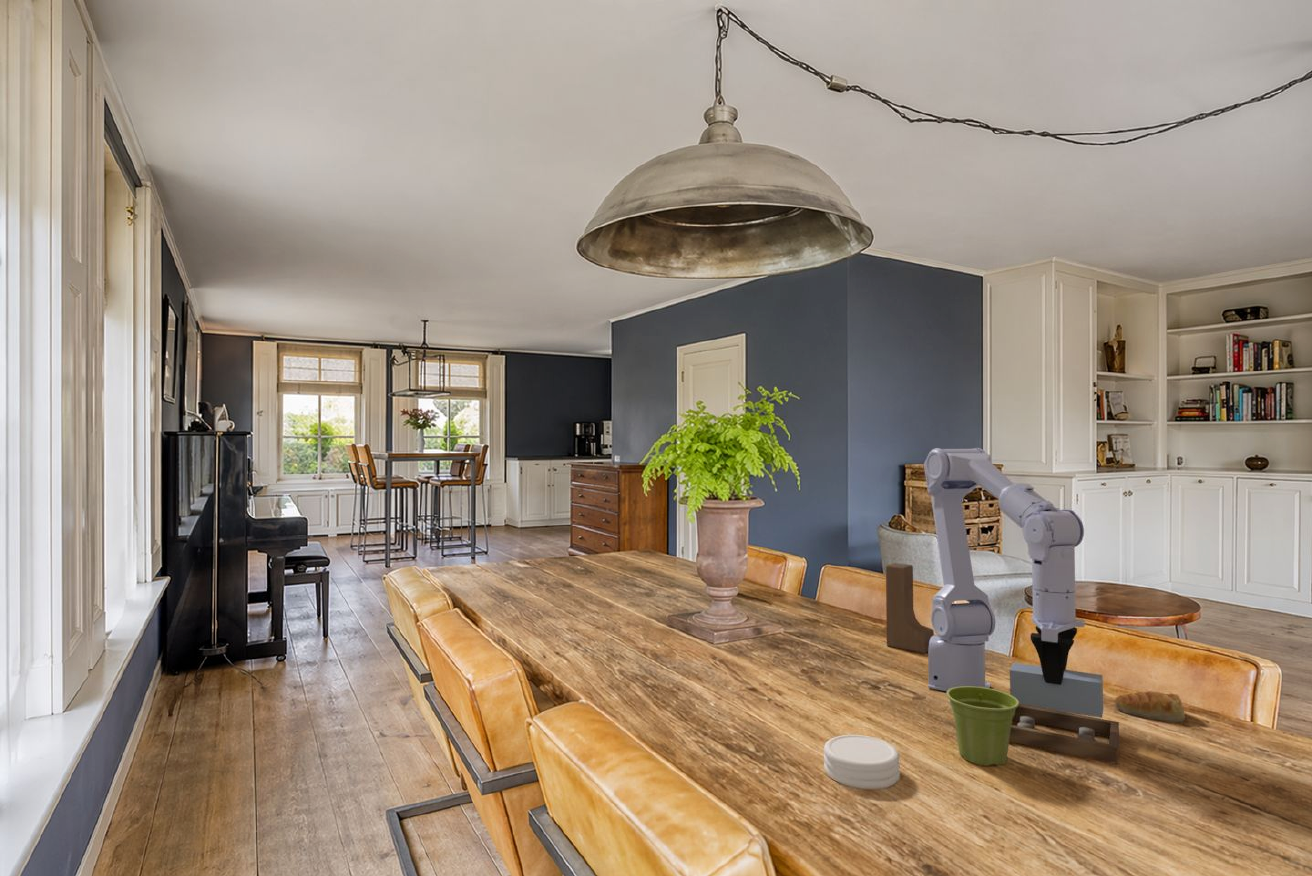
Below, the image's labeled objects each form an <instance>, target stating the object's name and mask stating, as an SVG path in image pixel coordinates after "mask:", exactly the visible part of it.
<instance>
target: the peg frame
mask: <svg viewBox="0 0 1312 876" xmlns="http://www.w3.org/2000/svg"><path fill="white" fill-rule="evenodd" d="M1012 720H1018V721H1019V722H1018V723H1017V725H1014V724H1012V725H1011V731H1010V738H1009V743H1010V742H1011V743H1015V744H1016V743H1017V744H1019V745H1020V744H1021V745H1023V746H1024V745H1025V746H1030V747H1034V748H1038V749H1039V748H1040V749H1044V750H1050V751H1053V752H1058V753H1064V754H1068V755H1073V756H1077V757H1084V758H1086V759H1087V758H1088V759H1091V760H1098V761H1102V762H1107V763H1112V764H1117V765H1118V764H1119V763H1118V762H1119V760H1118V759H1119V745H1120V744H1119V743H1120V725H1119V724H1120V722H1119V721H1114V720H1109V719H1103V718H1099V717H1094V716H1088V715H1082V714H1076V713H1070V712H1064V711H1058V710H1052V709H1046V708H1040V707H1035V706H1029V705H1023V704H1019V706H1018V707H1017V708H1016V709H1015V715H1014V716H1013V719H1012ZM1035 724H1040V725H1044V726H1049V727H1054V728H1061V729H1065V730H1070V731H1076V732H1078V734H1077V737H1076V736H1070V735H1067V734H1066V735H1065V734H1060V733H1056V732H1055V733H1054V732H1051V731H1046V730H1045V731H1044V730H1040V729H1035V727H1036V725H1035ZM1096 735H1097V736H1102V737H1107V738H1109V739H1108V743H1106V742H1101V741H1096V740H1095V739H1096V737H1095V736H1096Z"/></svg>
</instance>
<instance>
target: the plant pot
mask: <svg viewBox="0 0 1312 876" xmlns="http://www.w3.org/2000/svg"><path fill="white" fill-rule="evenodd" d="M946 697H947V699H948V700H949V701H950V706H951V708H952V713H953V721H954V726H955V732H956V739H957V746H958V752H959V753H958V754H959V755H960V756H962V757H963V758H964V759H965V761H968V762H970V763H972V764H977V765H980V766H986V767H989V766H991V765H997V766H1002V765H1004V764H1006V762H1007V759H1008V751H1009V743H1010V741H1009V738H1010V731H1011V725H1013V719H1012V718H1013V716H1014V715H1015V709H1016V708H1017V707H1018V706H1019V701H1018V700H1017V699H1016V698H1015V697H1014V696H1012V695H1010V693H1007V692H1004V691H1001V690H997V689H994V688H984V687H974V686H960V687H954V688H951V689H949V690H947V691H946Z"/></svg>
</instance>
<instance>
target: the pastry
mask: <svg viewBox="0 0 1312 876" xmlns="http://www.w3.org/2000/svg"><path fill="white" fill-rule="evenodd" d="M1113 705H1114V707H1115V708H1116V709H1118V710H1120V711H1121V712H1122V713H1124V714H1126V715H1133V716H1137V717H1140V718H1145V719H1149V720H1150V719H1151V720H1158V721H1164V722H1171V723H1172V722H1174V723H1184V721H1185V719H1186V716H1185V715H1186V714H1185V711H1184V707H1183V705H1182V700H1181V698H1180V696H1179V695H1178V694H1176V693H1173V692H1169V694H1167V693H1164V692H1159V691H1147V690H1146V691H1144V692H1143V691H1142V692H1141V691H1140V692H1137V693H1133V692H1130V693H1127V694H1122V695H1118V696H1117V697H1116V698H1115V700H1114V703H1113Z"/></svg>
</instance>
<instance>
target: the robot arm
mask: <svg viewBox="0 0 1312 876" xmlns="http://www.w3.org/2000/svg"><path fill="white" fill-rule="evenodd" d="M923 468H924V475H925V482H926V488H927V493H928V495H930V498H931V499H930V500H931V505H932V513H933V520H934V527H935V534H936V540H937V547H938V548H937V549H938V554H939V561H940V566H941V567H940V568H941V575H942V582H943V587H942V588H940V589H939V590H938V591H937V592H936V594H934V595H933V597H932V598H931V603H932V608H931V609H932V610H931V614H930V622H931V625H932V629H933V631H934V632H935V633H936V635H934V636H932V637H931V639H930V642H929V650H928V653H927V654H928V655H927V657H928V667H927V668H928V671H927V672H928V683H927V688H928V689H930V690H931V689H932V690H938V691H944V692H947V690H949V689H951V688H954V687H960V686H974V687H984V688H990V687H991V685H992V684H991V682H988V681H987V682H986V645H985V643H986V642H989V637H990V636H991V635H993V634H994V631H995V628H996V616H995V615H996V614H995V613H994V611H993V609H992V607H991V604H990V599H989V595H988V594H986V592H984V591H983V590H981V589H980V588H979V587H978V586H976V585H975V581H974V579H975V578H974V573H973V567H972V560H971V559H972V558H971V554H970V553H971V551H970V548H969V540H968V534H967V528H966V520H965V514H964V509H963V508H964V507H963V499H964V498H965V497H966V496H967V494H970V493H972V491H974V490H975V489H976V488H978V486H979V487H981V488H982V489H983V490H985V491H986V492H988V493H989V494H990V495H992V496H993V497H995V498H996V499H997V500H998V507H999V510H1000V511H1001V512H1002V513H1003V514H1005V515H1006V517H1008V518H1009V519H1010V520H1012V522H1014V523H1015V524H1016V525H1017V526H1019V527H1020V528H1021V530H1022V536H1023V538H1024V541H1025V542H1026V544H1027V553H1028V555H1029V558H1030V559H1031V570H1032V571H1031V572H1032V575H1031V580H1032V582H1031V584H1032V585H1031V586H1032V589H1031V590H1032V615H1031V623H1033V624H1034V625H1035V631H1036V632H1037V633H1035V632H1031V634H1030V641H1031V643H1032V644H1033V647H1034V648H1035V650H1036V652H1037V655H1038V658H1039V663H1040V666H1041V668H1042V672H1043V676H1044V680H1045V682H1046V683H1051V684H1057V685H1061V683H1062V680H1063V675H1064V670H1067V665H1068V659H1069V658H1068V657H1069V653H1070V650H1071V649H1072V647H1073V645H1074V644H1075V640H1074V639H1075V637H1076V635H1077V633H1078V628H1084V627H1085V626H1086V625H1085V623H1086V620H1083V619H1077V618H1076V616H1077V615H1076V560H1075V559H1076V556H1075V555H1076V552H1075V551H1076V550H1075V549H1076V547H1078V546H1079V545H1080V544H1081V543H1082V541H1083V540H1084V535H1085V528H1084V524H1083V521H1082V520H1081V518H1080V516H1079V515H1078V514H1077V513H1076V512H1075V511H1074V510H1073V509H1068V508H1067V509H1065V508H1064V509H1060V508H1056V507H1055V506H1054V504H1053V503H1052V502H1051V501H1049V500H1046V499H1045V498H1044V497H1042V496H1041V495H1040V494H1039V493H1037V492H1036V491H1035V490H1034V489H1035V488H1034V486H1032V485H1031V484H1028V483H1027V484H1026V483H1016V484H1015V483H1013V481H1011V479H1009V478H1008V477H1007V476H1006V475H1005V474H1004V473H1003V472H1002V471H1001V470H1000V469H999V468H998V467H996V466H995V464H993V461H992V456H991V455H990V454H989V453H987V452H986V451H985V450H984V449H982V448H980V447H974V448H939V447H936V448H933V449H931V451H929V453H928V455H927V457H926V458H925V461H924V462H923ZM959 601H966V602H963V603H962V602H961V603H958V602H959ZM955 602H957V603H955ZM990 689H991V688H990Z"/></svg>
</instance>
